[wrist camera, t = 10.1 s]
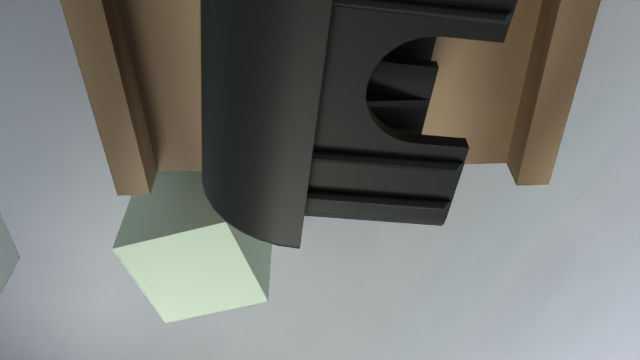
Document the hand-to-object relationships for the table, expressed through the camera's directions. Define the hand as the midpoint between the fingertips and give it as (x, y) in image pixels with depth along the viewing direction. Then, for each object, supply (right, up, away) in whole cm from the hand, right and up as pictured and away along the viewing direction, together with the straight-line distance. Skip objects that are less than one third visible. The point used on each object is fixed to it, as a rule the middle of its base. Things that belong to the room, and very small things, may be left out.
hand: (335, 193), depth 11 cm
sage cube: (-6, -1, +18) cm, 19 cm away
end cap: (0, +6, +8) cm, 10 cm away
